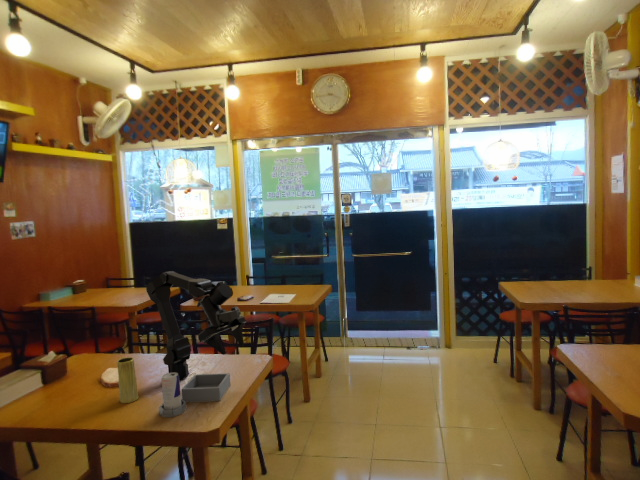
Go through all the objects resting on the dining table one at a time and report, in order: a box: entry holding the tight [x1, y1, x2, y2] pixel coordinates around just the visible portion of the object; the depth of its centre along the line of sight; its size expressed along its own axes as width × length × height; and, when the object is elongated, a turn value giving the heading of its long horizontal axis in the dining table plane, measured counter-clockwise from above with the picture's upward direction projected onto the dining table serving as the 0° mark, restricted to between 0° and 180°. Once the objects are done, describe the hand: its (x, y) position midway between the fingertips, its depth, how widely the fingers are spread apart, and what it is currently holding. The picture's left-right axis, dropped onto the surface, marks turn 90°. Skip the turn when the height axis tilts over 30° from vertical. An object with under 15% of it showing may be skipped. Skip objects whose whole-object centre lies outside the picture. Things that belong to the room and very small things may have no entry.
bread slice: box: [100, 367, 119, 388], centre depth 171 cm, size 18×18×4 cm
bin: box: [180, 372, 232, 403], centre depth 151 cm, size 13×13×4 cm
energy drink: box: [161, 372, 182, 410], centre depth 138 cm, size 5×5×12 cm
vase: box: [116, 356, 140, 404], centre depth 149 cm, size 6×6×14 cm
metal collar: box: [158, 398, 188, 418], centre depth 138 cm, size 8×8×2 cm
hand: (233, 350), depth 150 cm, fingers open, 9 cm apart
